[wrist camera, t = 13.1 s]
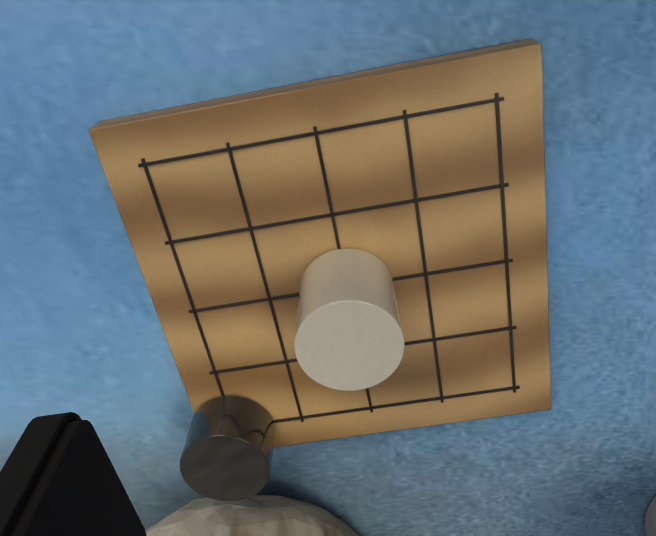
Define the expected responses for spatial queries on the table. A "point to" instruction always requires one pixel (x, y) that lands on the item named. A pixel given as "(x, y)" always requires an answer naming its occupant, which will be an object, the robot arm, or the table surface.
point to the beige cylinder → (348, 321)
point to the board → (350, 234)
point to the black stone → (228, 449)
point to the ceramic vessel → (250, 519)
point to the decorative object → (651, 519)
